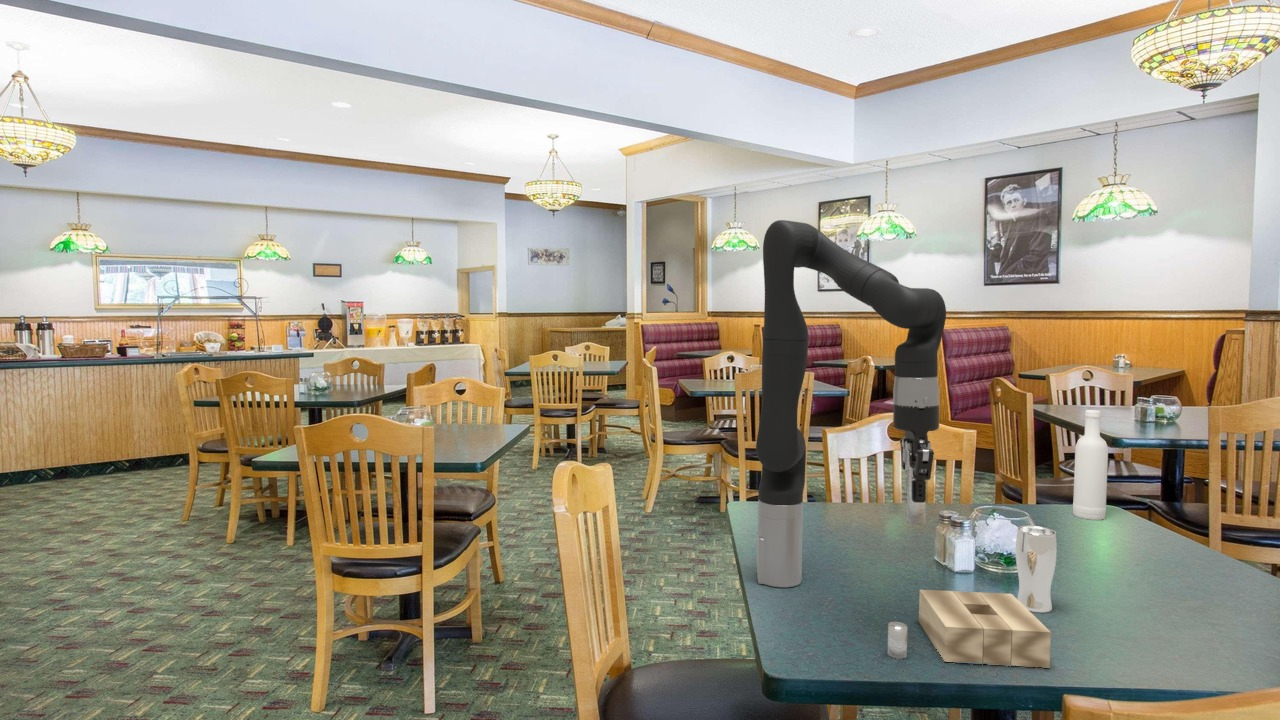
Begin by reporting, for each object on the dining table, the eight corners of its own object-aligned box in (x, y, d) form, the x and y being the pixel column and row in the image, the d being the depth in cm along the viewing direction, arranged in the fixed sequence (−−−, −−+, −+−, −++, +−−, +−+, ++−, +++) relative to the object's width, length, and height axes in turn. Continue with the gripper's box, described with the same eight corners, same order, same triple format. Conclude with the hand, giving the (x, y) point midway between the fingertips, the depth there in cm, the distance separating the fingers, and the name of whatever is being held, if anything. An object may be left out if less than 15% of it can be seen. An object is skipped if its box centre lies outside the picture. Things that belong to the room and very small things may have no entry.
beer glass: (1006, 600, 143) (1008, 525, 142) (1039, 598, 144) (1042, 524, 143) (1028, 614, 136) (1030, 536, 135) (1063, 613, 137) (1065, 535, 136)
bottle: (1079, 519, 200) (1083, 411, 198) (1067, 512, 208) (1071, 408, 206) (1111, 520, 199) (1115, 412, 197) (1097, 513, 206) (1102, 408, 204)
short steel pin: (889, 658, 118) (890, 628, 118) (885, 650, 121) (886, 621, 121) (908, 659, 118) (909, 629, 118) (904, 651, 121) (904, 622, 121)
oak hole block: (944, 662, 117) (945, 626, 117) (918, 621, 133) (919, 589, 132) (1049, 668, 115) (1050, 632, 115) (1010, 626, 131) (1011, 593, 130)
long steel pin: (909, 524, 126) (909, 445, 126) (905, 519, 129) (905, 442, 129) (927, 524, 126) (927, 445, 125) (922, 520, 129) (922, 442, 128)
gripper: (885, 398, 134) (885, 490, 135) (903, 407, 120) (903, 509, 121) (927, 397, 133) (927, 490, 134) (950, 406, 119) (950, 510, 120)
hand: (916, 499), depth 128 cm, fingers closed on long steel pin, 3 cm apart
